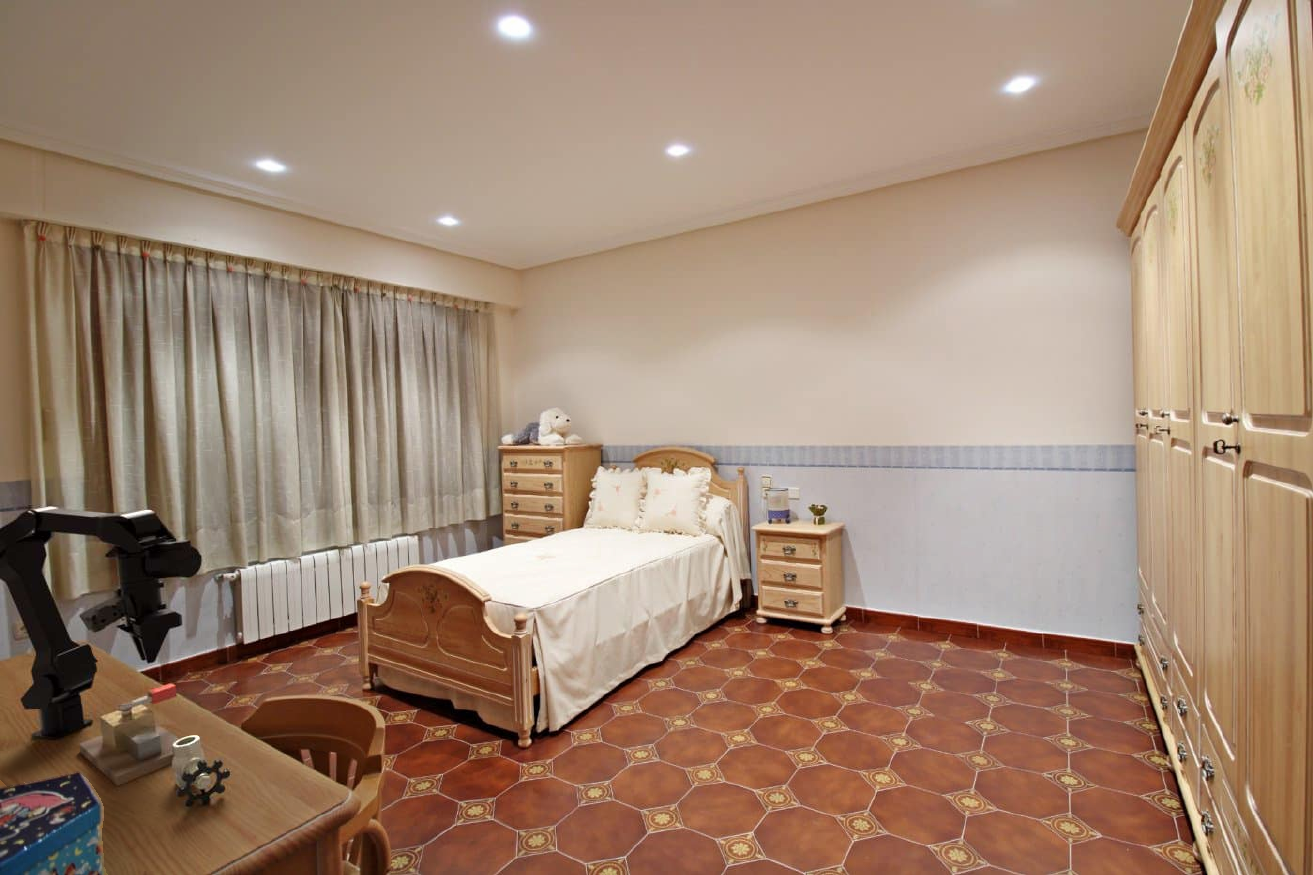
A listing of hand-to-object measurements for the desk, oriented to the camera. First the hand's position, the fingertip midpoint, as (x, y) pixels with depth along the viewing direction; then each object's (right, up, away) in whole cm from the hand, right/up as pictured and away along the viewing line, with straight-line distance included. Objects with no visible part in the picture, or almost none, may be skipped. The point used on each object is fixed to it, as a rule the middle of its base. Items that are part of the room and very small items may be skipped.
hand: (148, 661), depth 117 cm
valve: (+24, -13, -20) cm, 33 cm away
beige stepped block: (+4, -12, -8) cm, 15 cm away
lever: (+4, -6, -5) cm, 8 cm away
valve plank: (+4, -13, -8) cm, 16 cm away
